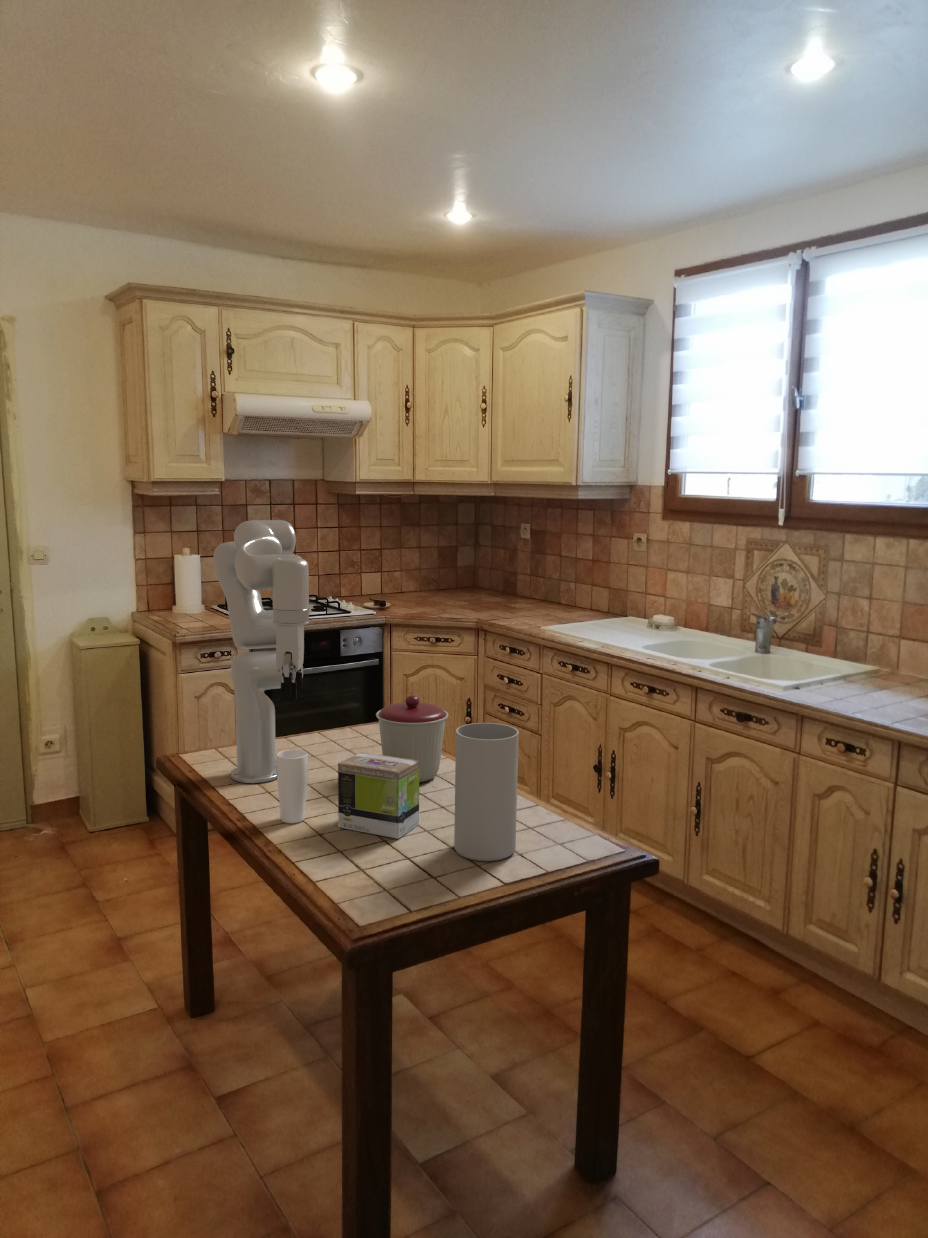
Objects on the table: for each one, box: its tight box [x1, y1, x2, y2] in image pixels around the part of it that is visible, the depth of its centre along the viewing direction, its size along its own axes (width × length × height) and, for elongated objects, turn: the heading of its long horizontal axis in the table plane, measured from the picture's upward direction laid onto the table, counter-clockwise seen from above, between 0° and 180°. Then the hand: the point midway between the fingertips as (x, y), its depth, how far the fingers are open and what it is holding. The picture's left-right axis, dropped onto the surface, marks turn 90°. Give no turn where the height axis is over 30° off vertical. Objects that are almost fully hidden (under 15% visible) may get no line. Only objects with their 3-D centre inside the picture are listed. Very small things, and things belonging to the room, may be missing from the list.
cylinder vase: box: [453, 722, 520, 862], centre depth 182 cm, size 12×12×25 cm
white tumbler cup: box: [276, 749, 309, 824], centre depth 197 cm, size 7×7×15 cm
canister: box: [375, 695, 449, 783], centre depth 226 cm, size 18×18×21 cm
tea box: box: [337, 751, 420, 840], centre depth 194 cm, size 15×10×15 cm, turn 65°
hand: (291, 695), depth 194 cm, fingers open, 9 cm apart
